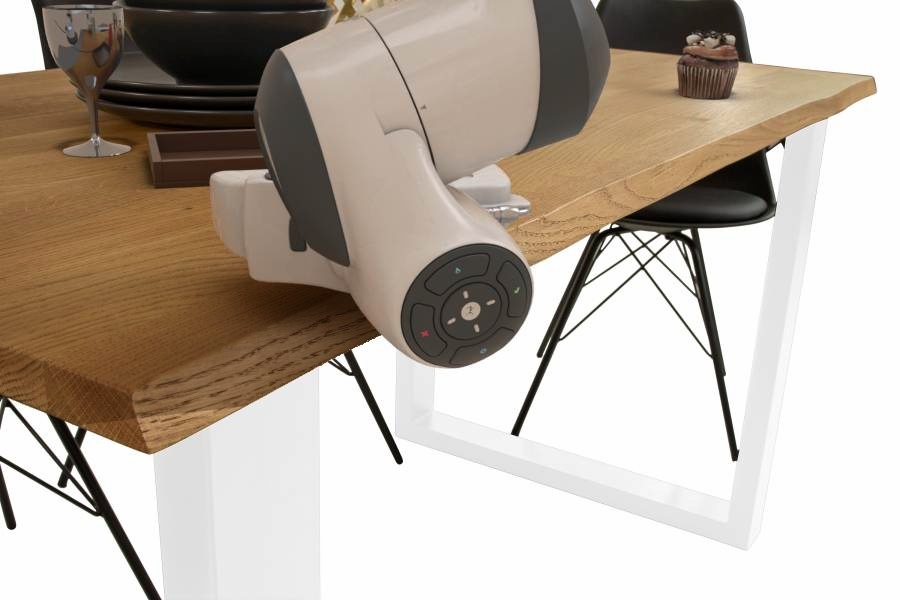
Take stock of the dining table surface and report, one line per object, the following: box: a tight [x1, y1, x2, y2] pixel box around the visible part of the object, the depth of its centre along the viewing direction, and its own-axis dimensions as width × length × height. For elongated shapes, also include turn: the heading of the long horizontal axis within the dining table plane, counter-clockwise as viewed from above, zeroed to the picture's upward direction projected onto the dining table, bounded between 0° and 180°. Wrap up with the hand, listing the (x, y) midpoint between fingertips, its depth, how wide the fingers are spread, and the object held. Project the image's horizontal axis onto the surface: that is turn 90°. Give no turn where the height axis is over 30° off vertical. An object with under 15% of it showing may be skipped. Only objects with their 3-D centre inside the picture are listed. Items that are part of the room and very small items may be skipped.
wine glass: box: [42, 4, 132, 158], centre depth 107 cm, size 8×8×15 cm
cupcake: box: [675, 29, 740, 100], centre depth 158 cm, size 10×10×10 cm
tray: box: [146, 128, 268, 190], centre depth 103 cm, size 20×15×3 cm
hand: (340, 174), depth 75 cm, fingers open, 8 cm apart
